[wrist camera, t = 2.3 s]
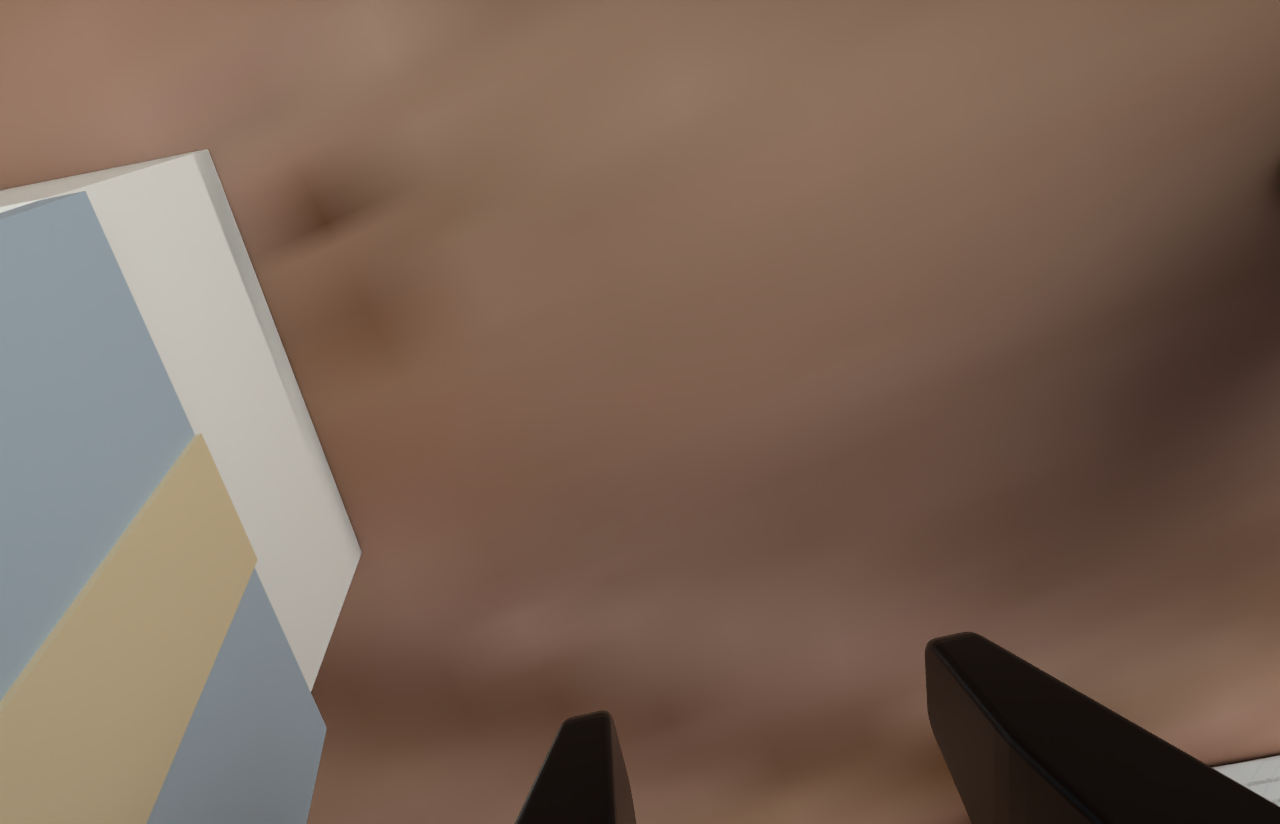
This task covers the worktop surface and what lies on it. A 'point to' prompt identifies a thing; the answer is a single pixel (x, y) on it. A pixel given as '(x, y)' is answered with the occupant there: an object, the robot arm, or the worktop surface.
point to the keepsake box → (228, 377)
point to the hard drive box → (1257, 776)
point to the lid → (125, 570)
